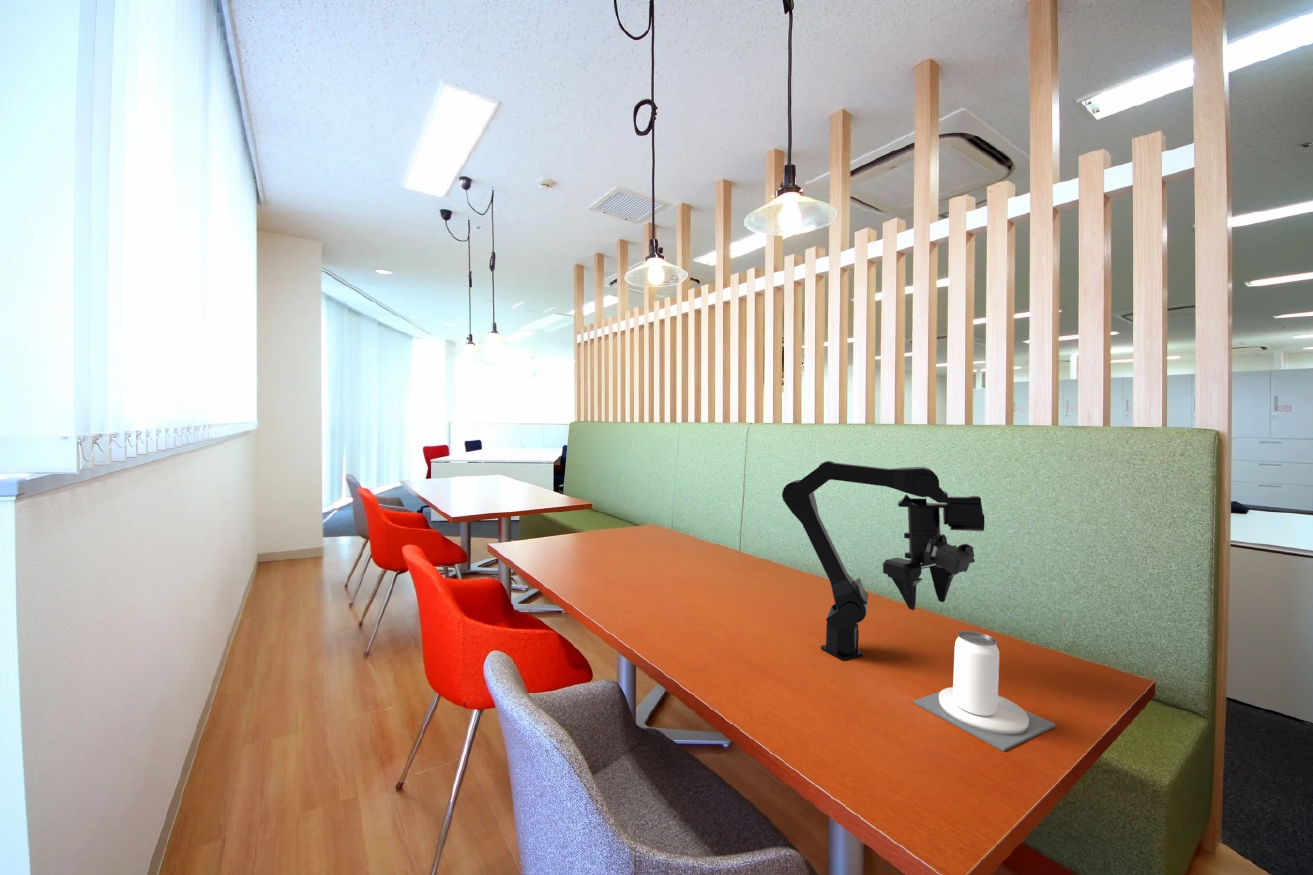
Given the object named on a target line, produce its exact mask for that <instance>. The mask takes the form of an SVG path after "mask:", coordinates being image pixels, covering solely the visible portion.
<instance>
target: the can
mask: <svg viewBox="0 0 1313 875" xmlns="http://www.w3.org/2000/svg"><path fill="white" fill-rule="evenodd" d="M957 636H958V637H957V638H956V640H955V643H954V655H953V675H952V676H953V678H952V682H953V683H952V687H953V701H954V703H955V704H956V705H957V707H959V708H960V709H961V710H963V711H965V712H967V713H970V714H973V715H976V716H982V717H990V716H993V715H994V714H996V713H997V704H998V696H999V676H1000V673H999V672H1000V649H999V648H998V646H997V643H998V641H997V640H996V639H995V637H992V636H990V635H987V634H984V633H981V632H976V631H967V630H965V631H963V630H962V631H960V632H958V634H957Z"/></svg>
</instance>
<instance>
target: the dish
mask: <svg viewBox="0 0 1313 875" xmlns="http://www.w3.org/2000/svg"><path fill="white" fill-rule="evenodd" d="M913 704H915V705H917V706H918V707H921V708H923V709H925V710H926V711H927V712H929V713H931V714H933V715H935V716H937V717H939V718H941V719H943V720H944V721H947V722H948V723H950V724H952V725H953V726H956V727H958V728H959V729H962V730H963V731H965V732H966V733H969V734H970V735H971V736H972V735H973V736H974V737H975V738H978V739H980V740H982V741H984V742H985V743H987V744H989V745H990V746H993V747H994V748H997V749H998V750H1000V751H1002V752H1005V751H1007V750H1009V749H1011V748H1013V747H1015V746H1018V745H1019V744H1022V743H1024V742H1026V741H1028V740H1030V739H1032V738H1034V737H1036V736H1039V735H1040V734H1042V733H1044V732H1046V731H1048V730H1050V729H1053V728H1055V727H1056V723H1053V721H1050V720H1047V719H1045V718H1043V717H1040V716H1039V715H1037V714H1034V713H1032V712H1029V711H1028V710H1025V709H1023V708H1022V707H1021V706H1019V705H1017V704H1016V703H1014V702H1013V701H1011V700H1010V699H1007V698H1006V697H1003V696H1001V695H998V704H997V713H996V714H994V715H993V716H990V717H982V716H976V715H973V714H970V713H967V712H965V711H963V710H961V709H960V708H959V707H957V705H956V704H955V703H954V701H953V686H951V687H946V688H943V689H942V690H940V691H937V692H935V693H932V694H929V695H927V696H923V697H920V698H917V699H914V700H913Z"/></svg>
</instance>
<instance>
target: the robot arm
mask: <svg viewBox="0 0 1313 875" xmlns="http://www.w3.org/2000/svg"><path fill="white" fill-rule="evenodd" d="M832 480H833V481H839V482H846V483H847V482H848V483H856V484H862V485H863V484H864V485H871V486H872V485H873V486H880V487H887V488H891V489H894V490H897V491H899V492H903V493H906V494H904V496H903V498H902V499H900V500H899V501H897V506H898V507H899V508H907V517H908V518H907V519H908V525H907V526H908V532H904V533H903V534H904V539H908V544H909V546H908V547H909V548H908V549H909V550H908V551H907V552H905V553H904V558H903V557H902V558H901V557H893V558H888V559H885V561H883V562H882V573H883V574H884V575H887V578H891V580H892V581H893V583H894V584H895V586H896V587H897V589H898V591H899V594H900V595H901V596H902V598H903V600H904V602H905V604H906V606H907V608H908V609H909V610H912V611H914V610H915V609H916V604H917V601H916V600H917V585H918V584H920V582H922V580H923V577H922V578H921V577H920V576H921V575H922V570H923V569H928V568H929V573H930V576H931V579H932V583H933V587H934V591H935V595H936V597H937V600H938V601H939V602H941V603H945V601H946V598H947V595H948V592H949V589H950V586H951V583H952V581H953V578H954V577H955V576H956V575H958V574H960V573H966V572H967V571H968V569H969V566H970V564H973V563H975V562H976V559H975V558H974V557H975V552H974V547H973V546H972V545H970V544H968V543H963V544H959V545H958V546H957V545H956V544H955V545H951V544H949V543H948V540H947V539H948V538H947V536H946V534H942V533H941V520H940V519H941V517H940V516H941V515H940V514H941V513H940V509H942V521H943V525H944V526H948V527H949V530H950V531H967V532H984V530H985V515H984V513H983V512H984V511H983V510H984V509H983V505H982V498H981V497H980V496H978V495H970V496H949V494H948V492H947V491H945V490H943V489H942V488H941V487H940V479H939V477H938V475H937V474H936V473H935V472H934V471H933V470H932V469H931V468H929V467H925V466H914V467H913V466H911V467H909V466H908V467H897V468H896V467H894V468H887V467H876V466H869V465H868V466H867V465H861V464H860V465H858V464H851V463H841V462H834V461H832V460H826V461H824V462H822V463H820V464H819V465H818V466H817V468H815V469H814V470H812V471H811V472H810V473H808V474H807V475H806V476H804V477H803V478H801V479H796V480H793V481H791V482H789V483H788V484H785V486H784V487H783V489H782V493H781V496H782V500H783V502H784V504H785V505H786V506H787V508H788V510H789V511H790V512H791V513H792V514H793V515H794V517H795V518H796V519H797V520H798V521H799V522H800V523H801V525H802V527H803V529H804V530H805V533H806V535H807V537H808V539H809V541H810V543H811V545H812V547H813V549H814V551H815V554H816V555H817V557H818V560H819V561H820V564H821V566H822V568H823V570H824V572H825V574H826V576H827V579H828V580H829V583H830V586H831V591H832V597H833V600H834V604H832V605H831V606H830V609H829V610H828V611H829V612H828V614H827V616H826V619H825V621H826V622H827V623H826V631H825V632H826V634H825V636H826V638H825V639H826V640H825V644H823V645H820V650H823V651H825V652H826V653H828V654H830V655H831V656H834V657H836V658H838V659H839V660H843V661H844V660H848V659H851V658H852V659H853V658H856V657H860V656H863V655H864V651H862V650H861V649H859V637H860V636H859V635H860V631H859V623H861V622H862V621H863V620H864V619H865V617H866V615H867V612H868V610H867V609H868V604H869V601H868V600H869V593H868V592H867V591H866V590H865V588H864V587H863V586H864V585H863V582H862V580H861V578H859V577H858V578H856V579H855V580H854V579H853V578H852V576H851V575H849V573H848V572H847V569H846V568H845V565H844V563H843V561H842V558H841V557H840V556H839V553H838V551H837V549H836V547H835V545H834V543H833V541H832V539H831V537H830V535H829V533H828V531H827V528H826V527H825V525H824V522H823V521H822V519H821V516H820V515H819V510H818V505H817V499H816V496H815V493H814V492H815V491H816V490H818V489H819V488H821V487H822V486H823V485H825V484H826V483H827V482H828V481H832ZM908 494H910V495H913V496H916V498H915V497H914V498H911V497H910V496H909V495H908ZM917 497H919V498H917ZM927 498H930V499H932V500H933V501H935V503H933V502H928V501H927Z"/></svg>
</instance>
